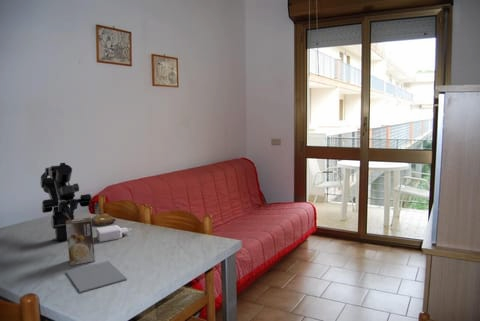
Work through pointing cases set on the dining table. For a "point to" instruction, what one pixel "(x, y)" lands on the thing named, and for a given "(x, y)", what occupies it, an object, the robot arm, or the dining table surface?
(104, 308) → the dining table surface
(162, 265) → the dining table surface
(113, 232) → the charger
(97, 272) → the mat
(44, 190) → the robot arm
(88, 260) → the coffee box
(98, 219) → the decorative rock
